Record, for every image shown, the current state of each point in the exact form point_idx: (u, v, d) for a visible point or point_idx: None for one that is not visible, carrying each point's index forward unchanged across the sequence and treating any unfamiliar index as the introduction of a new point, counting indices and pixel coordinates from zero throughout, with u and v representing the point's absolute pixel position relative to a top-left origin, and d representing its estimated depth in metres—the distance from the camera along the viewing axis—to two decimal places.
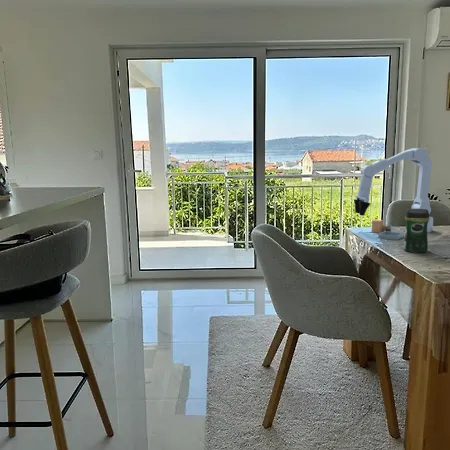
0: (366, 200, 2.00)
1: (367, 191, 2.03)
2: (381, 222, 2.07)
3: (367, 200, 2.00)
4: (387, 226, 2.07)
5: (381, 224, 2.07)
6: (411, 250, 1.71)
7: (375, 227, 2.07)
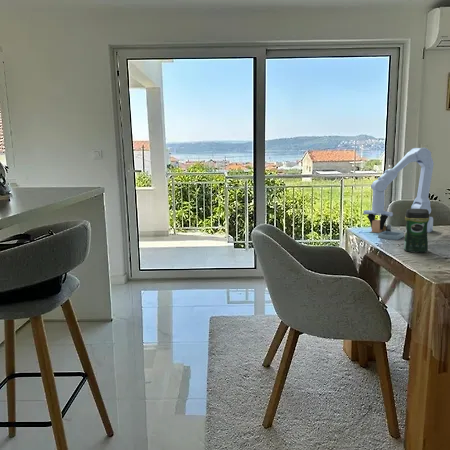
0: (391, 214, 2.02)
1: (383, 205, 2.05)
2: None
3: (392, 214, 2.02)
4: (387, 226, 2.07)
5: None
6: (411, 250, 1.71)
7: (375, 227, 2.07)
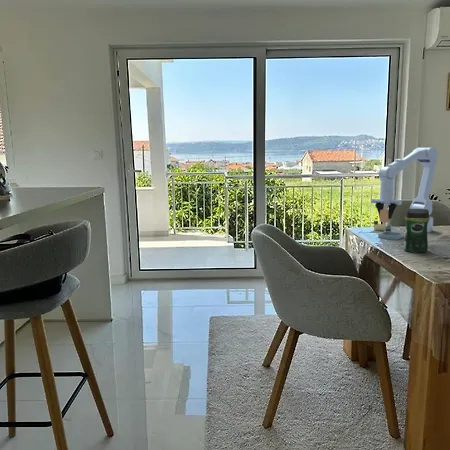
0: (400, 202, 1.93)
1: (392, 193, 1.96)
2: None
3: (401, 202, 1.93)
4: (387, 226, 2.07)
5: None
6: (411, 250, 1.71)
7: (383, 217, 1.98)
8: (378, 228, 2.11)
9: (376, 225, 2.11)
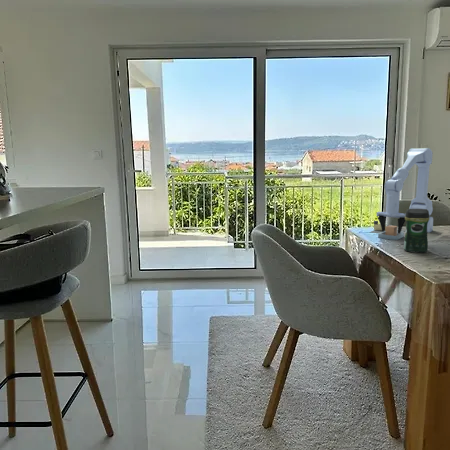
0: None
1: (398, 206, 1.91)
2: (395, 228, 1.93)
3: None
4: None
5: (395, 230, 1.93)
6: (411, 250, 1.71)
7: (389, 234, 1.93)
8: (378, 228, 2.11)
9: (376, 225, 2.11)
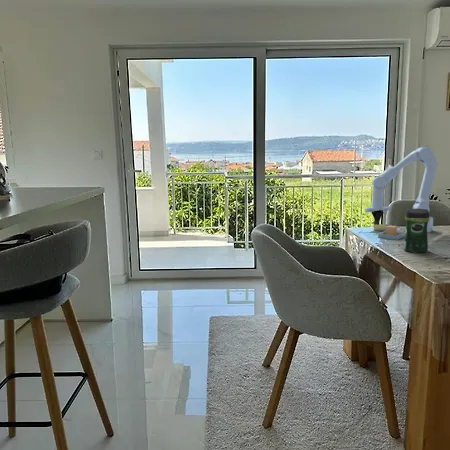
0: None
1: None
2: (395, 228, 1.93)
3: None
4: None
5: (395, 230, 1.93)
6: (411, 250, 1.71)
7: (389, 234, 1.93)
8: (378, 228, 2.10)
9: (376, 225, 2.11)
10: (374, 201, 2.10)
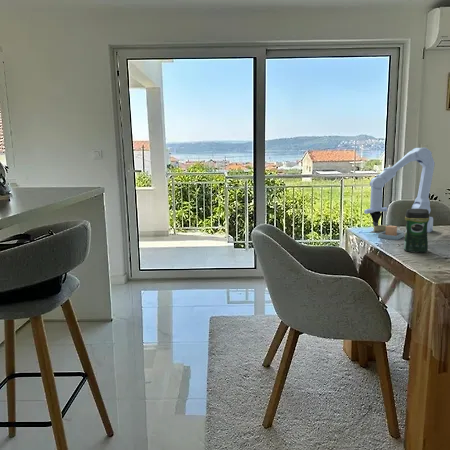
0: None
1: None
2: (395, 228, 1.93)
3: None
4: None
5: (395, 230, 1.93)
6: (411, 250, 1.71)
7: (389, 234, 1.93)
8: (379, 229, 2.08)
9: (377, 226, 2.08)
10: (373, 202, 2.06)
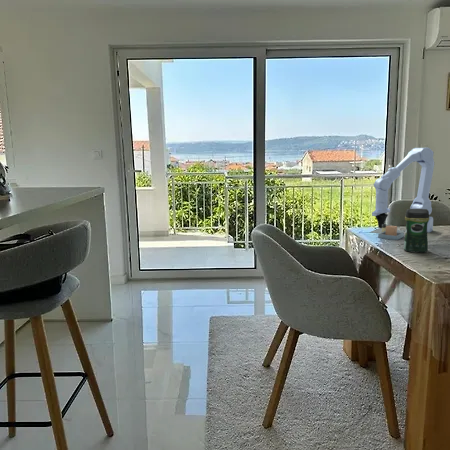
0: None
1: None
2: (395, 228, 1.93)
3: None
4: None
5: (395, 230, 1.93)
6: (411, 250, 1.71)
7: (389, 234, 1.93)
8: None
9: (385, 228, 2.03)
10: (380, 204, 2.00)
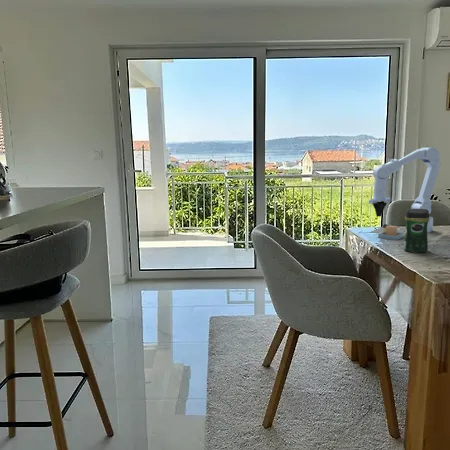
0: None
1: None
2: (395, 228, 1.93)
3: None
4: None
5: (395, 230, 1.93)
6: (411, 250, 1.71)
7: (389, 234, 1.93)
8: None
9: None
10: (377, 192, 2.03)
